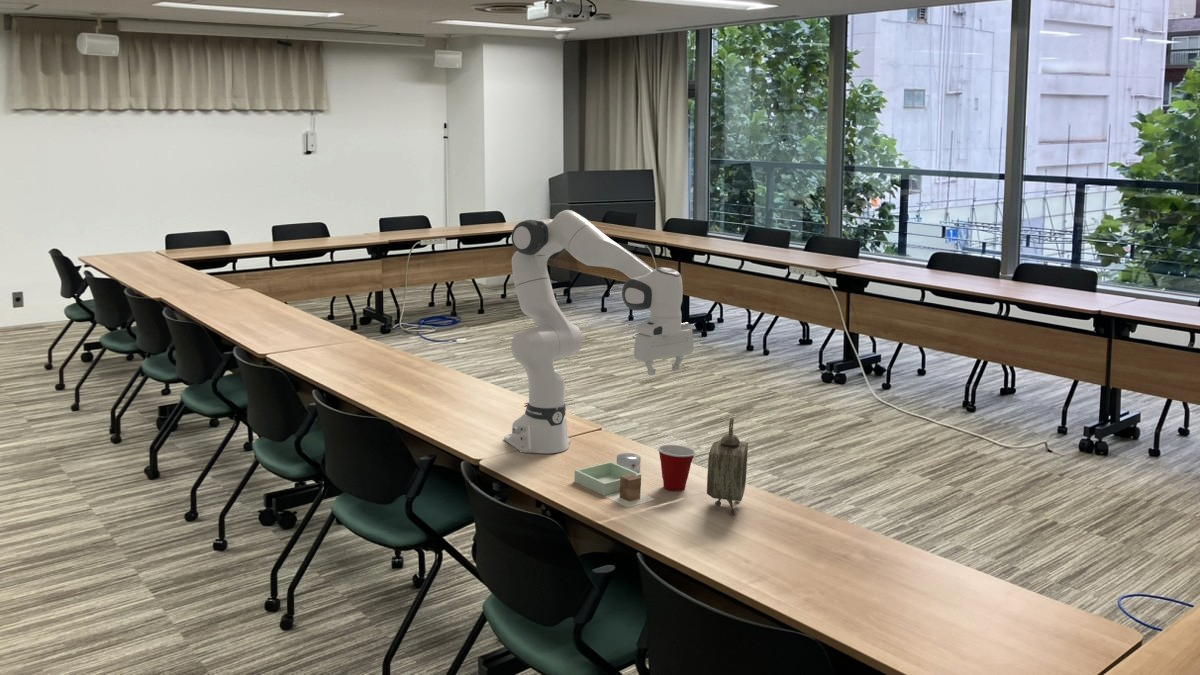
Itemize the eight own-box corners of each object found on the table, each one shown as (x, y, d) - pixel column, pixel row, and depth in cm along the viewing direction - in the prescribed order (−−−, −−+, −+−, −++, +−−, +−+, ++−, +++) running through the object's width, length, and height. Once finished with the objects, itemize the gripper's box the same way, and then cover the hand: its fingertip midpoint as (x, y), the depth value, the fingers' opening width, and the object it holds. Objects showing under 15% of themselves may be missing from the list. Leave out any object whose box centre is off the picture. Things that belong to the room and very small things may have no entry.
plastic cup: (702, 491, 288) (704, 450, 286) (672, 498, 282) (674, 457, 280) (677, 480, 297) (679, 440, 295) (647, 486, 291) (649, 446, 288)
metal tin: (611, 472, 302) (611, 455, 301) (629, 467, 307) (629, 451, 306) (626, 478, 297) (627, 462, 296) (644, 474, 302) (645, 457, 301)
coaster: (604, 498, 281) (604, 496, 281) (631, 490, 287) (631, 488, 287) (627, 509, 274) (627, 507, 273) (655, 501, 280) (655, 499, 280)
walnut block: (619, 497, 281) (620, 476, 279) (630, 494, 283) (631, 473, 282) (629, 501, 278) (629, 480, 276) (640, 498, 280) (640, 477, 279)
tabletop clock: (739, 518, 269) (744, 427, 264) (704, 514, 271) (709, 424, 266) (744, 499, 283) (750, 412, 278) (712, 496, 285) (716, 409, 280)
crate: (574, 483, 292) (574, 470, 291) (610, 474, 300) (611, 461, 299) (604, 497, 282) (604, 483, 281) (640, 487, 290) (641, 474, 289)
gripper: (684, 319, 300) (682, 365, 303) (631, 327, 287) (629, 374, 290) (699, 323, 295) (697, 370, 298) (646, 330, 282) (644, 379, 285)
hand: (663, 372), depth 294 cm, fingers open, 8 cm apart
